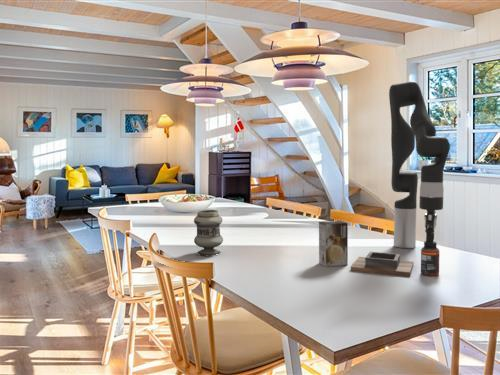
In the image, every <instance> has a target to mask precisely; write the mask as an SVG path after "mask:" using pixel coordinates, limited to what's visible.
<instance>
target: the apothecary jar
mask: <svg viewBox="0 0 500 375" xmlns="http://www.w3.org/2000/svg"><path fill="white" fill-rule="evenodd" d="M193 222H194V224H195V225H196V235H195V237H194V240H193V241H194V244H195V245H196V246H198V247H199V248H202V249H200V250H198V251H197V252H196V254H197V253H198V254H202V255H201V256H203V255H216V254H219V253H220V254H221V251H220V250H218V249H216V247H219V246H221V245H222V244H223V242H224V238H223V236H222V235H221V231H220V230H221V229H220V228H221V226H220V225H221V224H222V223H223V218H222V217H221V215H219V211H218V209H202V210H198V211H197V214H196V216H195V217H194V219H193ZM198 254H197V255H198ZM220 254H219V255H220ZM216 256H217V255H216Z"/></svg>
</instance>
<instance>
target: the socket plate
mask: <svg viewBox="0 0 500 375" xmlns="http://www.w3.org/2000/svg"><path fill="white" fill-rule="evenodd" d="M413 268H414V261H410V260H401V254H400V253H391V252H390V253H389V252H380V251H379V252H378V251H377V252H376V251H369V252H368V254H367V255H366V256H365V257H363V256H359V257H358V258H357V259H356V260H355V261H354V262H353V263H352V265H351V266H350V271H351V272H360V273H361V272H362V273H369V274H370V273H371V274H379V275H389V276H400V277H411V275H412V271H413Z"/></svg>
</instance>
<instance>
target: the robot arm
mask: <svg viewBox="0 0 500 375" xmlns="http://www.w3.org/2000/svg"><path fill="white" fill-rule="evenodd" d="M388 95H389V96H388V98H389V100H388V101H389V109H390V117H391V118H390V122H391V124H390V125H391V128H390V129H391V130H390V132H391V135H390V136H391V138H390V140H391V141H390V142H391V143H390V144H391V145H390V146H391V158H392V159H391V164H392V165H391V189H392V191H393V192H396V193H409V194H408V195H407V196H406V197H404V198H400V199H397V200H395V202H394V206H393V207H394V215H393V218H394V220H393V221H394V222H393V247H394V248H401V249H414V248H416V245H417V244H416V240H417V209H418V208H417V206H418V205H417V199H418V197H417V196H418V184H419V183H418V182H419V176H418V173H417V172H416V171H408V170H407V171H403V170H402V171H401V168H402V167H403V165H404V163H405V162H406V161H407V160H408V159H409V158H410V156H411V155H413V152H414V150H416V154H418V155H419V157H422V158H434V160H433V161H432V162H431V163H428V164H427V163H426V164H424V165H422V166H421V168H420V184H419V186H420V187H419V206H418V207H419V209H420V210H423V211H424V210H426V213H424V228H425V230H424V231H425V235H426V236H425V241H426V244H427V245H433V241H434V240H435V229H436V228H437V220H438V214H436V211H442V210H443V209H444V170H445V166H446V162H447V160H448V156H449V153H450V148H451V147H450V146H451V145H450V141H449V139H448V138H447V137H446V136H436V134H437V130H436V126H435V125H434V123H433V121H432V119H431V117H430V115H429V113H428V110H427V106H426V104H425V98H424V96H423V93H422V90H421V87H420V84H419V83H418V82H417V81H415V80H408V81H403V82H398V83H394V84H391V85H390V86H389V92H388ZM411 106H414V108H413V111H412V113H411V115H410V117H409V118H410V120H409V123H408V122H407V121H406V119H405V118H404V116H403V115H402V114H401V108H404V107H405V108H406V107H411Z"/></svg>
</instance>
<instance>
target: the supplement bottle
mask: <svg viewBox="0 0 500 375" xmlns="http://www.w3.org/2000/svg"><path fill="white" fill-rule="evenodd" d="M423 245H424V246H423V247H421V249H420V274H422V275H423V276H429V277H436V276H439V274H440V249H439V248H438V247H437V241H434V240H433V245H427V244H426V240H425V241H424V242H423Z"/></svg>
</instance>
